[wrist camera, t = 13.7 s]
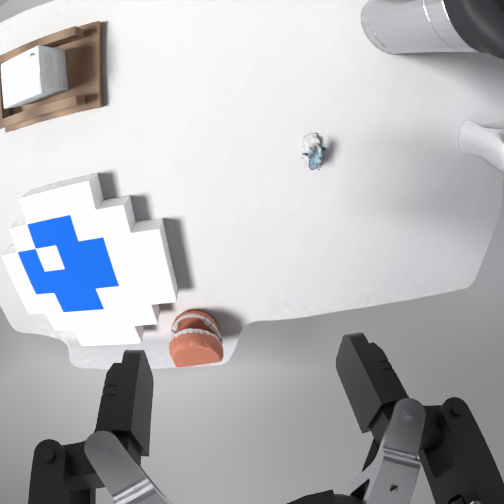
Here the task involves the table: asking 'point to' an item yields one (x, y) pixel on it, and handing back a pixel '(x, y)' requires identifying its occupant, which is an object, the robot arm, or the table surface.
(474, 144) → the beer glass
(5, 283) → the table surface
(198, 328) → the dentures
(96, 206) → the pixel art tile
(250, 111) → the table surface
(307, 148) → the sculpture
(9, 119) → the U-rest
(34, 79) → the product box
